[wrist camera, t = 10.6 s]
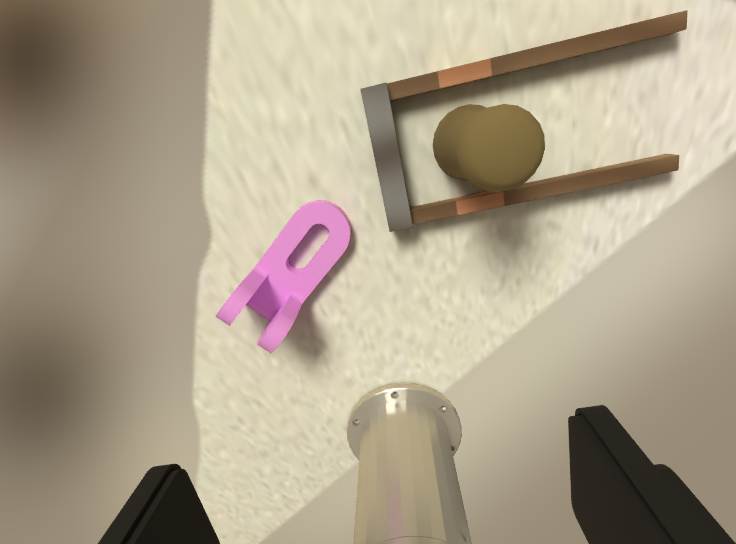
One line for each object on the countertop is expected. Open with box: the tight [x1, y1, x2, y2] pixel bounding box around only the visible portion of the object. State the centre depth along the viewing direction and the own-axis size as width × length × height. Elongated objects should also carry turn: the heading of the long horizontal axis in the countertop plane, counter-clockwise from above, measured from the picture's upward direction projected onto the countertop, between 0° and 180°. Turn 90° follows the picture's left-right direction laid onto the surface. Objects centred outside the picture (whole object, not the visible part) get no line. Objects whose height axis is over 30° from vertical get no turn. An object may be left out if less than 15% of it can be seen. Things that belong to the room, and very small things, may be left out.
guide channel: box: [361, 11, 687, 232], centre depth 31 cm, size 11×24×2 cm, turn 102°
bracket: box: [216, 200, 351, 353], centre depth 34 cm, size 13×6×7 cm, turn 142°
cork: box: [433, 104, 545, 192], centre depth 28 cm, size 6×6×11 cm
